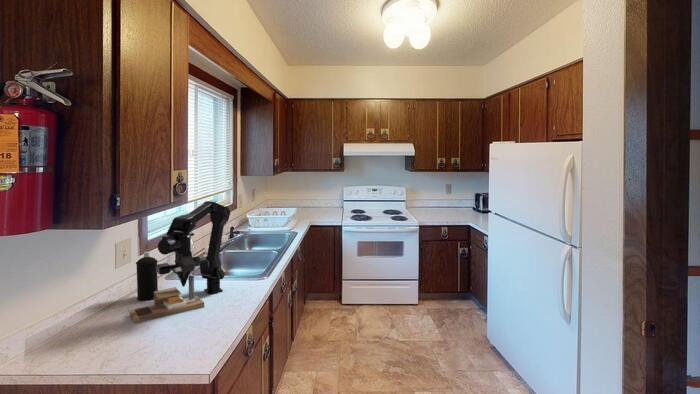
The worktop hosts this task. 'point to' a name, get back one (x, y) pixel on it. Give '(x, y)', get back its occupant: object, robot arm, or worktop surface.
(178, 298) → the block
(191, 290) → the sled
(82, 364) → the worktop surface
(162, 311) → the tan piece
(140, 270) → the aerosol can
